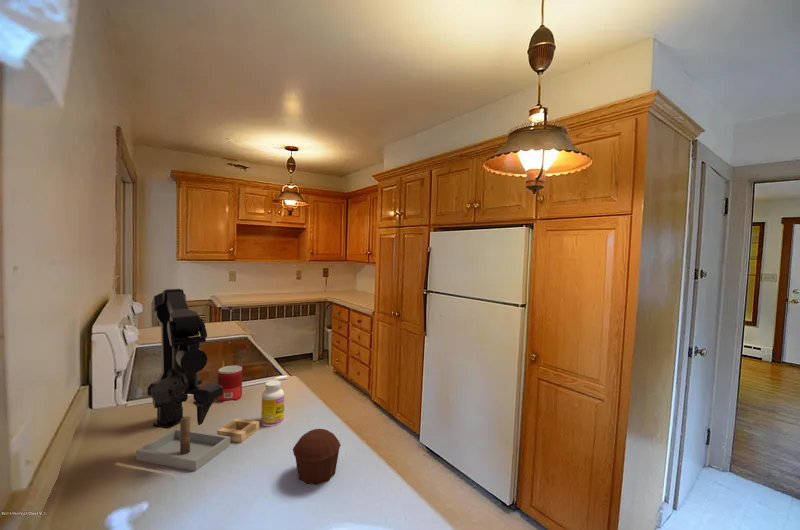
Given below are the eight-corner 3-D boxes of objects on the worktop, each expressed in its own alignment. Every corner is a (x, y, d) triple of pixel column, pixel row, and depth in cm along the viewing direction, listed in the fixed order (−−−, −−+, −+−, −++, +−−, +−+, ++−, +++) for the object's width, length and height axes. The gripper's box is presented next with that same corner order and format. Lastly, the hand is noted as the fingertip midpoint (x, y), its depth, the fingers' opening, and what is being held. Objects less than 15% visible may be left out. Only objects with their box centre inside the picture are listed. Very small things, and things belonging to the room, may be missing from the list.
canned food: (246, 397, 133) (246, 367, 132) (225, 404, 126) (226, 373, 126) (234, 392, 137) (234, 364, 136) (213, 399, 130) (213, 369, 130)
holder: (217, 440, 102) (217, 430, 102) (236, 427, 109) (236, 418, 109) (241, 444, 100) (241, 434, 100) (259, 431, 108) (259, 421, 107)
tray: (136, 462, 91) (136, 450, 91) (176, 438, 102) (176, 428, 102) (196, 473, 87) (196, 461, 87) (230, 447, 98) (230, 436, 98)
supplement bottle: (276, 429, 109) (277, 387, 108) (257, 427, 110) (257, 385, 110) (287, 419, 115) (288, 380, 115) (269, 417, 117) (269, 378, 116)
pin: (178, 453, 94) (178, 419, 94) (185, 449, 96) (185, 416, 96) (185, 455, 93) (185, 420, 93) (191, 450, 95) (192, 417, 95)
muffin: (301, 459, 94) (302, 421, 93) (343, 460, 93) (344, 422, 93) (285, 488, 82) (286, 445, 81) (334, 490, 81) (334, 447, 81)
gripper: (127, 369, 88) (127, 432, 88) (190, 376, 84) (190, 442, 84) (166, 357, 99) (166, 413, 99) (224, 362, 95) (224, 421, 95)
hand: (185, 422), depth 94 cm, fingers open, 9 cm apart
